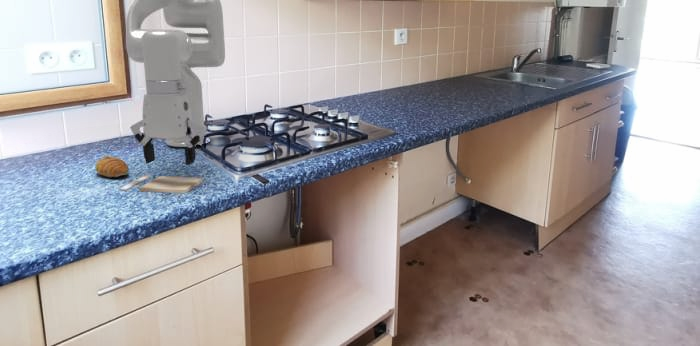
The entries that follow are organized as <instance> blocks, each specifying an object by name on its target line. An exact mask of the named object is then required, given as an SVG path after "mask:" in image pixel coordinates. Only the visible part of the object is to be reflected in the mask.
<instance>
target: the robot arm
mask: <svg viewBox="0 0 700 346" xmlns="http://www.w3.org/2000/svg"><path fill="white" fill-rule="evenodd" d="M128 9H129V10H128V11H127V15H126V23H125V26H126V27H125V48H126V52H127V55H128V57H129V58H130V60H131V61H134V62H136V63H141V64H143V68H144V79H145V88H146V89H145V92H146V93H145V94H144V95H143V101H142V102H143V103H142V119H141V120H140V121H138V122H136V123H135V124H134V123H133V124H132V125H130V128H129V129H130V130H131V132H132V134H133V135H134V138H135V140H137V141H138V142H139V143H140V146H141V147H142V150H143V158H144V159H145V163H146V164H150V163H152V162H154V161H155V160H156V157H155V156H156V155H155V146H154V144H153V143H152V142H153V141H154V140H155V139H156V140H157V139H158V140H165V142H166V145H167V146H171V147H176V148H183V147H184V158H185V165H187V166H190V165H192V164H193V163H195V160H196V147H197V146H196V145H197V144H203V138H204V136H206V131H207V130H208V126H207V125H206V124H205V120H204V119H205V117H204V116H205V115H204V102H203V100H204V99H203V88H202V82H201V79H200V78H199V76H197V74H196V73H195V72H194V71H193V70H192V69H193V68H218V67H221V66H223V65H224V62H225V59H226V45H225V43H226V42H225V29H224V27H225V26H224V16H223V7H222V2H221V0H134V1H133V3H132V4H131V6H130V8H128ZM161 9H162V10H163V17H164V20H165V23H166V24H167V25H168V26H169V27H170V28H171V27H172V28H178V29H163V28H161V29H160V28H159V29H151V28H150V29H149V28H148V29H147V28H146V29H141V28H142V24H143V22H144V21H145V20H146V19H147V18H148V17H149V16H150V15H152V14H154V13H156V12H157V11H159V10H161ZM179 28H180V30H179ZM181 29H204V30H206V31H207V33H205V32H204V33H202V32H198V33H195V32H185V31H184V30H181ZM141 128H143V129H142V130H143V133H142V132H141ZM206 141H207V142H208V140H206Z"/></svg>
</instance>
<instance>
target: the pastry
mask: <svg viewBox="0 0 700 346" xmlns="http://www.w3.org/2000/svg"><path fill="white" fill-rule="evenodd" d="M94 167H95V171H96V172H97V173H98V175H101V176H104V177H107V178H112V177H114V178H117V177H121V176H124V175H126V176H127V175H128V174H129V171H130V170H129V166H128V164H127V163H126V162H125V161H124V160H123V159H121V158H119V157H118V158H117V157H113V156H105V157H103V158H99V159H98V161H97V162H96V163H95V166H94Z"/></svg>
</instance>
